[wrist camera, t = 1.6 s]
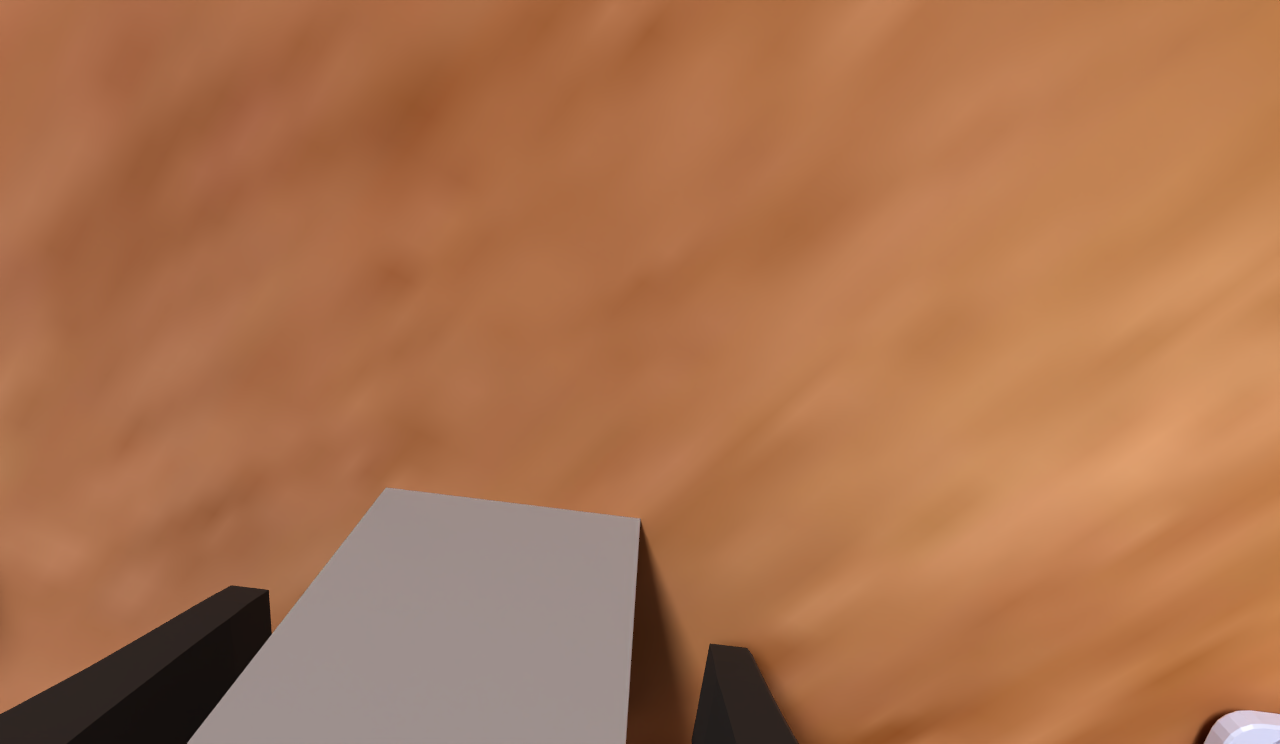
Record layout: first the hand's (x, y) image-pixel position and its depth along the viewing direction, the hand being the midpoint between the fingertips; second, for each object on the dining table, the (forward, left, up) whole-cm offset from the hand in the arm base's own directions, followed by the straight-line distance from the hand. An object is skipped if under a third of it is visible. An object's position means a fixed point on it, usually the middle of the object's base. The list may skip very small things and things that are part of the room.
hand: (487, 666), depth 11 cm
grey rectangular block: (0, 0, -2) cm, 2 cm away
